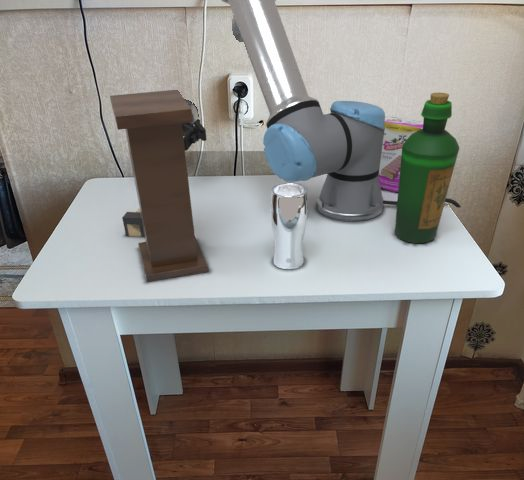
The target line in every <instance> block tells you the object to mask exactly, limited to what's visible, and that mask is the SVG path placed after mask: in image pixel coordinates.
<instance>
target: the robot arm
mask: <svg viewBox="0 0 524 480" xmlns="http://www.w3.org/2000/svg"><path fill="white" fill-rule="evenodd" d="M221 1H222V2H223V3H225V4H226V5H227V4H228V5H229V6H230V8H231V12H232V16H233V19H232V18H231V19H232V31H233V35H234V36H235V38H236V40H238V41H239V42H244V44H245V47H246V50H247V54H248V58H249V62H250V63H251V67H252V69H253V72H254V75H255V77H256V79H257V82H258V86H259V88H260V91H261V94H262V96H263V99H264V101H265V104H266V107H267V110H268V113H269V115H268V118H267V120H266V123H265V126H266V128H267V129H266V131H264V134H263V139H262V144H263V146H264V148H263V153H264V156H265V160H266V162H267V164H268V166H269V168H270V170H271V171H272V172H273V173H274V175H275V176H276V177H278V179H280V180H282V181H284V182H285V183H297V182H302V181H303V182H305V181H306V182H307V181H309V180H310V179H313V178H317V177H321V176H324V175H326V178H325V180H324V182H323V185H322V187H321V190H320V193H319V195H318V197H317V200H316V203H317V210H318V211H319V213H320V214H322V215H323V216H325V217H327V218H329V219H333V220H336V221H342V222H363V221H368V220H371V219H374V218H376V217H378V216H379V215H381V214H382V212H383V207H384V205H387V206H388V205H389V206H397V201H398V200H384V198H383V193H382V189H381V188H380V183H379V177H378V176H379V168H380V160H381V153H382V145H383V137H384V130H385V127H384V126H385V116H386V112H385V110H384V108H382V107H380V106H378V105H376V104H373V103H367V102H363V101H354V100H336V101H333V102H332V103H331V106H330V108H329V111H330V113H325V114H324V112H323V110H322V107H321V104H320V101H319V100H318V99H316V98H314V97H311V96H309V93H308V91H307V88H306V85H305V83H304V79H303V77H302V73H301V70H300V68H299V66H298V62H297V60H296V58H295V54H294V51H293V49H292V46H291V43H290V40H289V37H288V35H287V32H286V29H285V26H284V24H283V21H282V18H281V15H280V13H279V10H278V7H277V5H276V2H277V0H221ZM233 14H234V15H233ZM185 101H186V102H187V104H188V105H189V106H190V108H191V109H192V119H193V122H187V123H182V130H183V139H184V148H185V152H186V151H187V152H188V150H189V149H190V147H191V146H193V144H196V143H197V142H199V141H200V140H201V141H203V142H206V141H207V130H206V127H204V126H203V124H202V123H201V119H200V120H199V119H198V117H199V114H198V109H197V107H196V106H195V104H194V103H193V104H192V102H191V101H189V100H186V99H185ZM445 203H448V204H452V205H453V206H455V208H462V206H461V205H460V204H459V202H457V200H454V199H452V198H447V197H446V199H445Z"/></svg>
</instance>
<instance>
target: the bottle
mask: <svg viewBox="0 0 524 480" xmlns="http://www.w3.org/2000/svg"><path fill="white" fill-rule="evenodd" d="M449 97H450V94H449V93H446V92H439V91H438V92H432V93H430V99H427V100H426V101H425V102H424V105H423V108H422V111H421V113H420V115H421V116H422V118H423V119H422V120H423V121H422V122H423V129H420V130H418V131H416V132H414V133H413V134H411V135H410V137H409V138H408V139H407V140H406V142H405V143H404V144H403V145H402V155H401V167H400V178H399V189H398V193H397V200H396V201H397V205H396V214H395V223H394V224H395V225H394V234H395V235H396V237H397V238H399V239H401V240H402V241H405V242H407V243H412V244H424V243H429V242H431V241H433V240H434V239H435V238H436V236H437V233H438V228H439V225H440V221H441V217H442V215H443V210H444V207H445V204H446V202H445V199H446V198H447V195H448V192H449V188H450V185H451V184H450V183H451V180H452V177H453V173H454V169H455V166H456V162H457V158H458V155H459V151H460V146H459V143H458V141H457V139H456V138H455V137H454V136H453V135H452V133H450V132H449V131H447V130H446V126H447V123H448V120H449V119H451V117H452V116H453V114H452V113H453V111H452V109H453V106H452V105H453V104H452V101H450V100H449Z"/></svg>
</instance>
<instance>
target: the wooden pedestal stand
mask: <svg viewBox="0 0 524 480" xmlns="http://www.w3.org/2000/svg"><path fill="white" fill-rule="evenodd" d="M109 98H110V104H111V108H112V113H113V116H114V120H115V123H116V128H117V130H118V131H119V130H125V135H126V142H127V147H128V152H129V157H130V164H131V168H132V174H133V180H134V185H135V190H136V191H135V192H136V195H137V196H136V197H137V202H138V208H140V213H141V218H142V224H143V229H144V235H145V237H144V240H145V241H141V242H138V243H137V244H138V249H139V254H140V257H141V262H142V266H143V267H142V268H143V271H144V275H145V280H146V283H150V282H154V281H161V280H168V279H173V278H179V277H187V276H191V275H197V274H203V273H208V272H209V265H208V263H207V261H206V259H205V256H204V254H203V251H202V249H201V247H200V245H199V242H198V239H197V237H196V236H195V227H194V218H193V210H192V201H191V192H190V185H189V175H188V167H187V159H186V158H187V156H186V151H185V148H184V139H183V138H184V136H183V130H182V123H187V122H193V119H192V109H191V108H190V106H189V105H188V104H187V102H186V101H185V99H184V98H183V97H182V95H181V94H180V92H179V91H178V90H174V89H169V90H167V89H166V90H157V91H146V92H136V93H126V94H125V93H123V94H115V95H113V94H112V95H109Z"/></svg>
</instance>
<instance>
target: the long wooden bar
mask: <svg viewBox="0 0 524 480" xmlns="http://www.w3.org/2000/svg"><path fill="white" fill-rule="evenodd" d="M121 219H122V224H123V228H124V233H125V237H140V238H145V235H144V229H143V224H142V218H141V213H140V207H138V208H137V210H136V211H126V212H125V214H124V215H123V216H122V218H121Z"/></svg>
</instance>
